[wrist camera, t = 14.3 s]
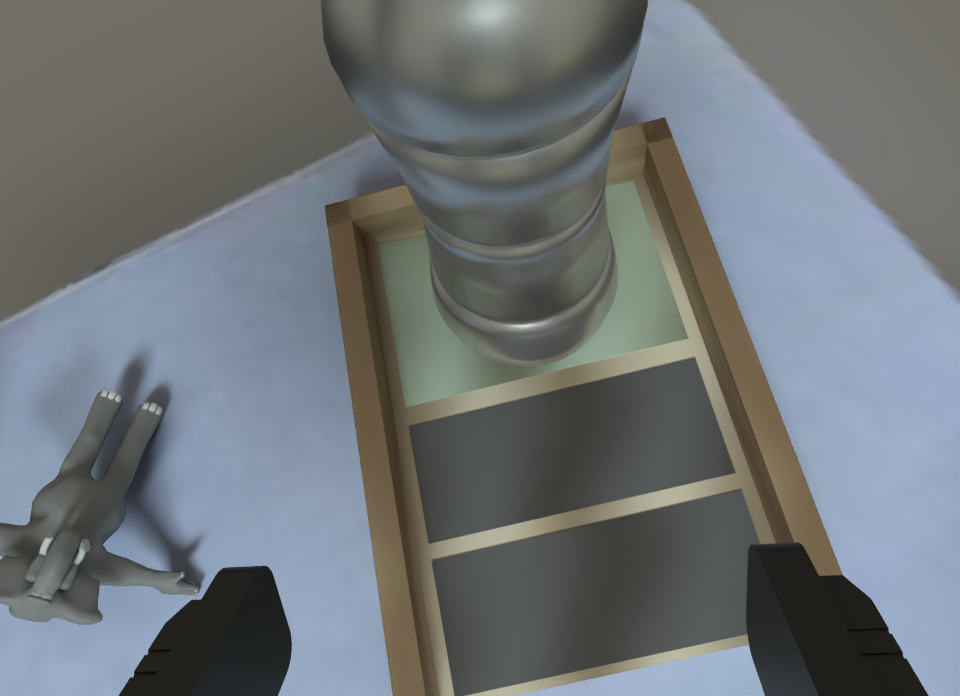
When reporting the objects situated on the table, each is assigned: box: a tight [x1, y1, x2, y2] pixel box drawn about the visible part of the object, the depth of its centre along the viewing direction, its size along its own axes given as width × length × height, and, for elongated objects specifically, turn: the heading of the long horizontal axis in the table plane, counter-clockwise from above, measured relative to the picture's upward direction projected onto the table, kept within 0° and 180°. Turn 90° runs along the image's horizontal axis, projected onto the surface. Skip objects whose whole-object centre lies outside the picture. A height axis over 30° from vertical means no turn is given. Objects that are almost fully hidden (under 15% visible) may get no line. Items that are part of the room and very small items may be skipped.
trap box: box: [325, 117, 842, 696], centre depth 26 cm, size 14×19×4 cm
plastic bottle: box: [321, 0, 648, 367], centre depth 18 cm, size 6×7×20 cm
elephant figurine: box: [0, 389, 199, 625], centre depth 26 cm, size 10×6×9 cm
